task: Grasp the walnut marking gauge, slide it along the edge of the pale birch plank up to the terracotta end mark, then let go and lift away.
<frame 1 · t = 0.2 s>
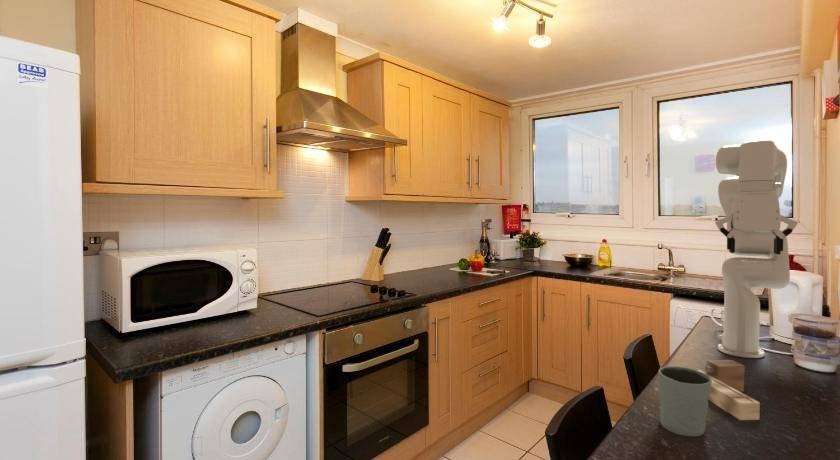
hand: (754, 253, 116), 36 cm above the countertop, tool pointing down, fingers open, 9 cm apart
green cup: (683, 427, 98), on the countertop
marking gauge: (724, 388, 118), on the countertop
guide plank: (718, 400, 110), on the countertop
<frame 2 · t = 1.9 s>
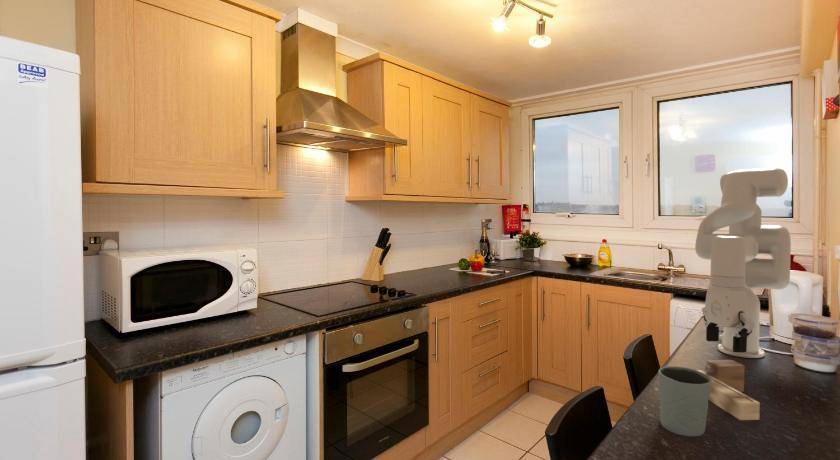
hand: (725, 346, 116), 12 cm above the countertop, tool pointing down, fingers open, 9 cm apart
nothing on the countertop moved.
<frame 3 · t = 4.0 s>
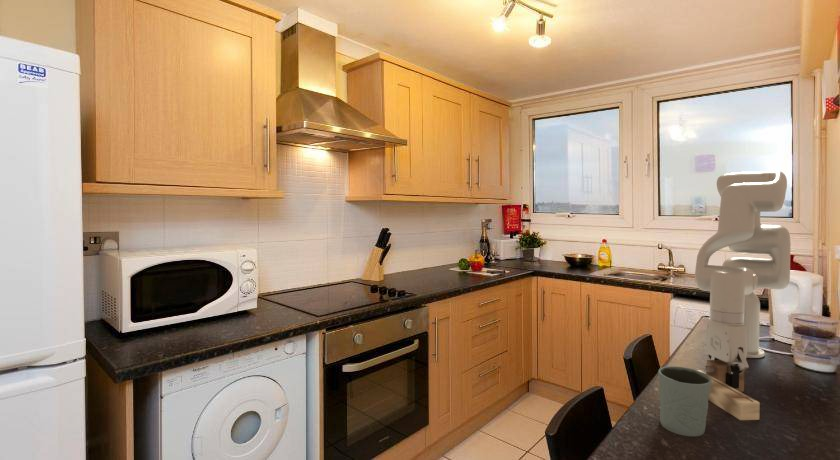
hand: (724, 383, 117), 1 cm above the countertop, tool pointing down, fingers closed on marking gauge, 4 cm apart
marking gauge: (724, 388, 118), on the countertop, touching gripper
everything else where it was.
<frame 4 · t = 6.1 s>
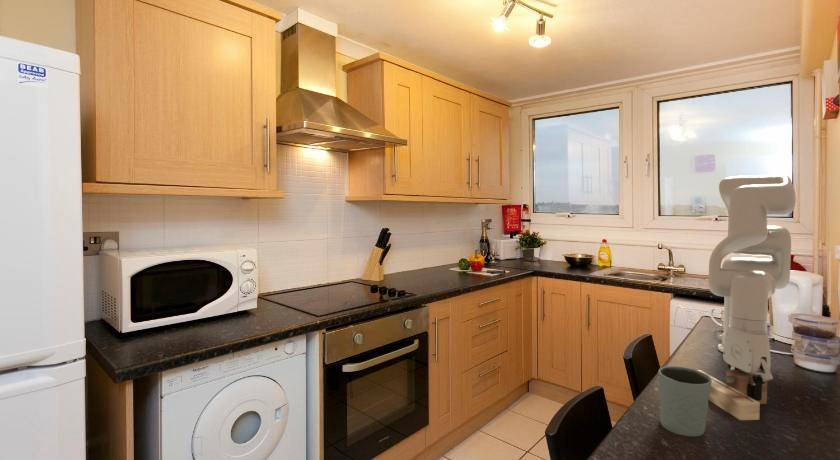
hand: (746, 394, 110), 1 cm above the countertop, tool pointing down, fingers closed on marking gauge, 4 cm apart
marking gauge: (745, 400, 110), on the countertop, touching gripper
everything else where it was.
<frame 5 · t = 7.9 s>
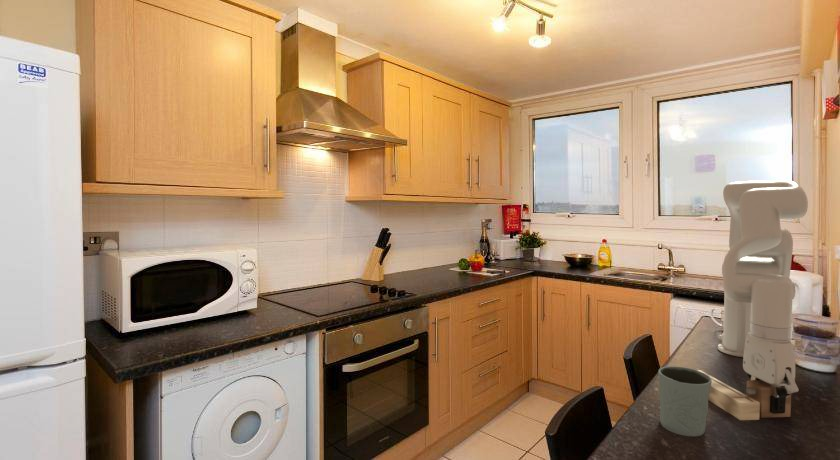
hand: (767, 406, 104), 1 cm above the countertop, tool pointing down, fingers closed on marking gauge, 4 cm apart
marking gauge: (767, 412, 104), on the countertop, touching gripper
everything else where it was.
when the fingers open (1 cm above the countertop, at t = 8.7 s): marking gauge stays where it is, on the countertop.
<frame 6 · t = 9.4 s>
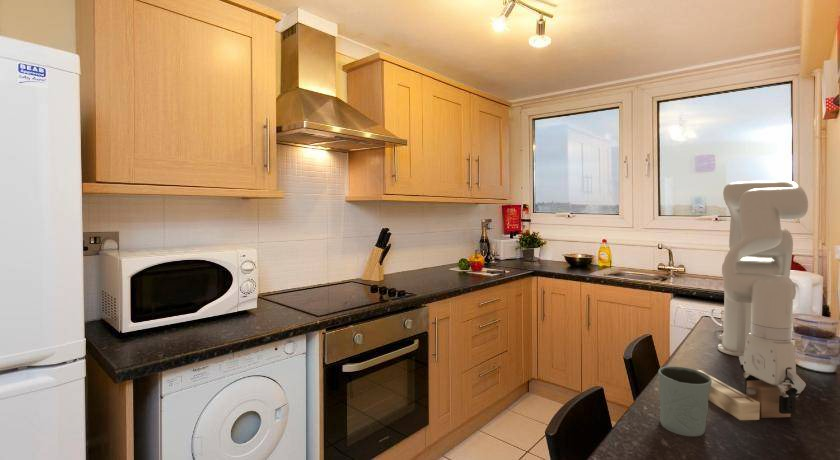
hand: (768, 403, 104), 2 cm above the countertop, tool pointing down, fingers open, 9 cm apart
marking gauge: (767, 412, 104), on the countertop
everything else where it was.
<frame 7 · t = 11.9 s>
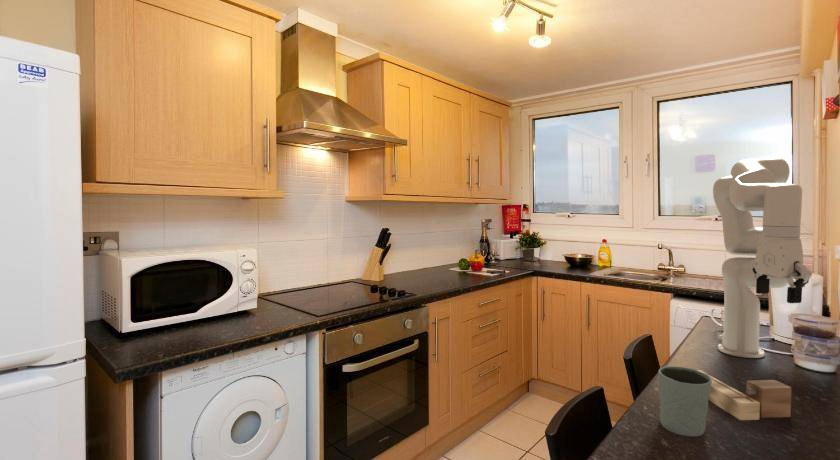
hand: (777, 297, 114), 25 cm above the countertop, tool pointing down, fingers open, 9 cm apart
nothing on the countertop moved.
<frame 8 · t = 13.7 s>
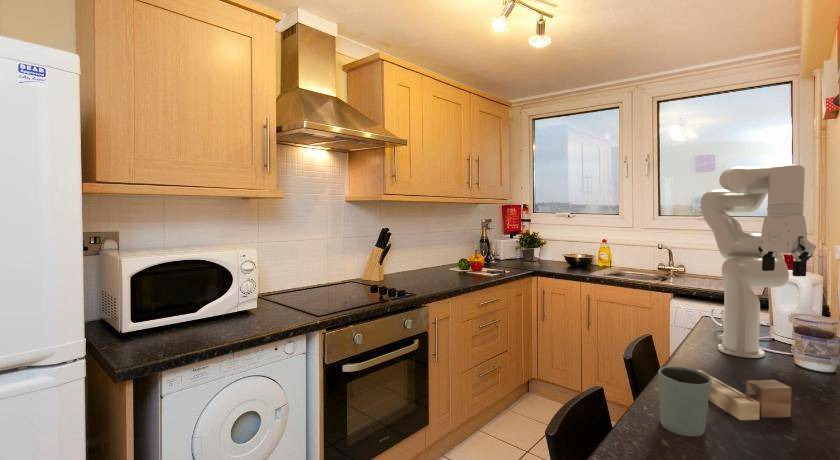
hand: (783, 273, 120), 30 cm above the countertop, tool pointing down, fingers open, 9 cm apart
nothing on the countertop moved.
at the end: marking gauge 0.1 cm from the target spot, on the countertop; marking gauge moved 13.9 cm from its start; the gripper is holding nothing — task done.
